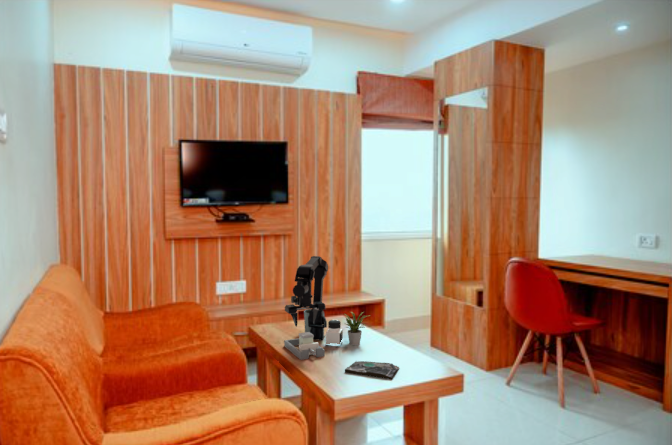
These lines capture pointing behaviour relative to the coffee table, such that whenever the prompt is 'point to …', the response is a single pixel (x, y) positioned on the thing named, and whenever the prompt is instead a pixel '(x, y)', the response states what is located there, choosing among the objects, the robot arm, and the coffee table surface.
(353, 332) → the house plant
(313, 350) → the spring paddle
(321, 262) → the robot arm
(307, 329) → the drinking glass
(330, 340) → the medicine bottle
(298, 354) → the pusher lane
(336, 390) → the coffee table surface
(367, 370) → the terrain model
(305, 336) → the sage jar
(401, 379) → the coffee table surface
